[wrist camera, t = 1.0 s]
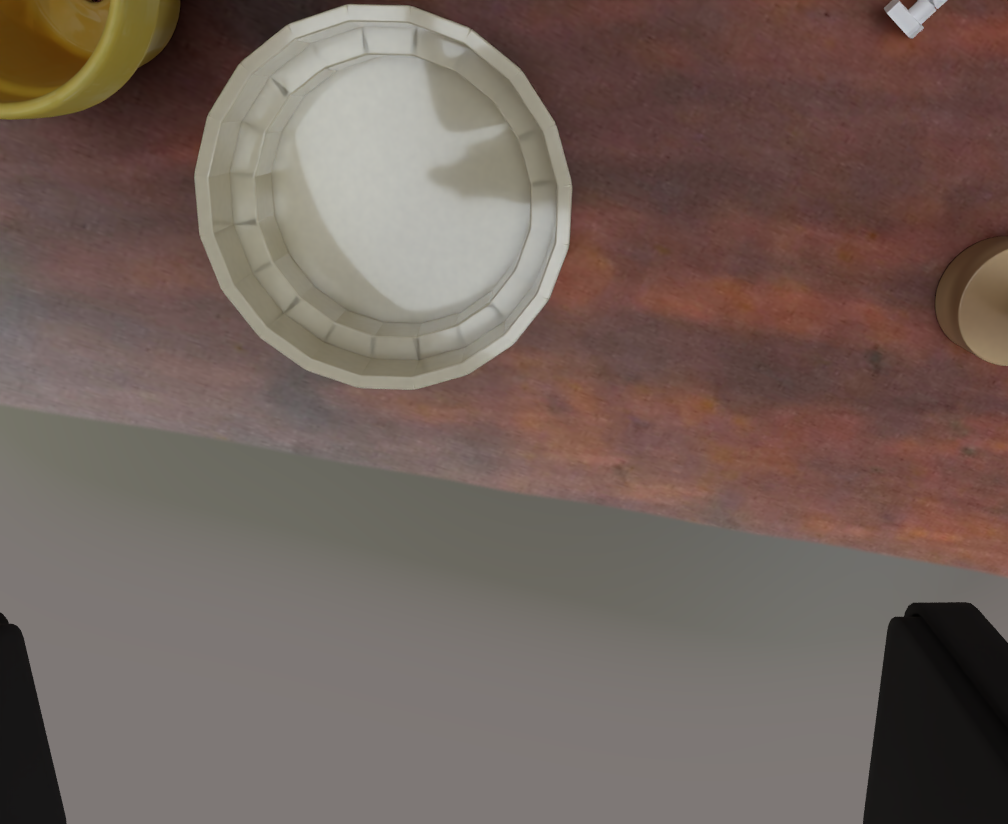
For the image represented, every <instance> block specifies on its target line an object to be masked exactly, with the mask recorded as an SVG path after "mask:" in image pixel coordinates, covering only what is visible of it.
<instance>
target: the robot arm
mask: <svg viewBox="0 0 1008 824" xmlns="http://www.w3.org/2000/svg"><path fill="white" fill-rule="evenodd" d="M0 824H66V817H65V812H64V808H63V804H62V799H61V796H60V791H59V786H58V782H57V778H56V774H55V770H54V765H53V761H52V757H51V753H50V748H49V744H48V740H47V736H46V731H45V727H44V723H43V719H42V714H41V710H40V706H39V702H38V698H37V693H36V689H35V685H34V680H33V676H32V672H31V667H30V663H29V659H28V655H27V651H26V646H25V642H24V638H23V635H22V632H21V630H20V629H19V628H18V626H16V625H14V624H9V623H8V620H7V619H6V617H5V616H4V615H3V614H2V613H0ZM863 824H1008V643H1007V642H1006V641H1005V639H1004V638H1003V637H1002V636H1001V635H1000V634H999V633H998V631H997V630H996V629H995V628H994V627H993V626H992V625H991V624H990V622H989V621H988V620H987V619H986V618H985V617H984V616H983V615H982V613H981V612H980V611H979V610H978V609H977V608H976V607H975V606H974V605H972V604H971V603H966V602H961V603H960V602H956V603H953V602H951V603H950V602H948V603H912V604H911V605H909V606H908V608H907V610H906V612H905V615H904V617H894V618H892V619H891V621H890V623H889V626H888V630H887V637H886V645H885V653H884V661H883V669H882V676H881V684H880V692H879V700H878V708H877V716H876V724H875V732H874V739H873V747H872V755H871V763H870V770H869V779H868V786H867V794H866V802H865V810H864V818H863Z"/></svg>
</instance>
